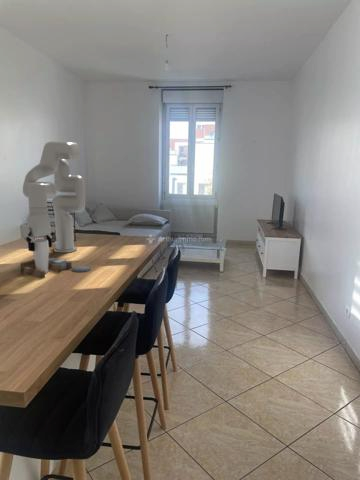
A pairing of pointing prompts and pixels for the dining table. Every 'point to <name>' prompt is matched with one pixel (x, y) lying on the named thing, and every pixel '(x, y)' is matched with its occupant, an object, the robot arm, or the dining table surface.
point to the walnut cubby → (53, 265)
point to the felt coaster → (81, 268)
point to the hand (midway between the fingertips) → (40, 248)
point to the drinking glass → (41, 254)
